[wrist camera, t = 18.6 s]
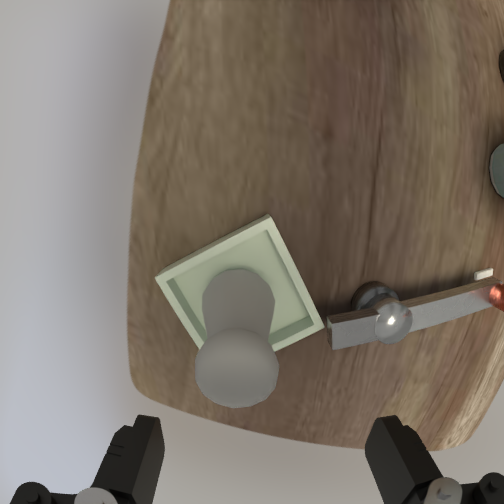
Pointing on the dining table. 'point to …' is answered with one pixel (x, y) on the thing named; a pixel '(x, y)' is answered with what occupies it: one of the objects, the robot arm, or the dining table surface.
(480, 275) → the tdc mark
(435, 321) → the crank
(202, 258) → the tray
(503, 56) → the pillar candle
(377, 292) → the crank base
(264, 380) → the salt shaker
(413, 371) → the dining table surface
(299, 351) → the dining table surface
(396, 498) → the robot arm
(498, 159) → the disposable coffee cup
